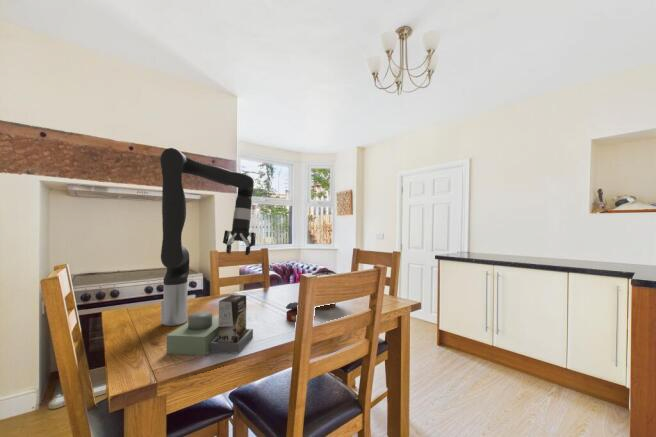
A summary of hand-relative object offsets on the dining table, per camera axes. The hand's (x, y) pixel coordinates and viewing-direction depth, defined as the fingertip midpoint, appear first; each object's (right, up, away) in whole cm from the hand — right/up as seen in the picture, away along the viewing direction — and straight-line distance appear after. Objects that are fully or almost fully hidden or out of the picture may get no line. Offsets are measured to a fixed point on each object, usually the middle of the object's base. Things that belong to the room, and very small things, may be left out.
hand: (237, 254), depth 128 cm
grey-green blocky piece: (-1, -29, -25) cm, 38 cm away
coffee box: (+6, -29, -25) cm, 39 cm away
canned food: (+27, -30, +2) cm, 40 cm away
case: (+38, -30, +19) cm, 52 cm away
